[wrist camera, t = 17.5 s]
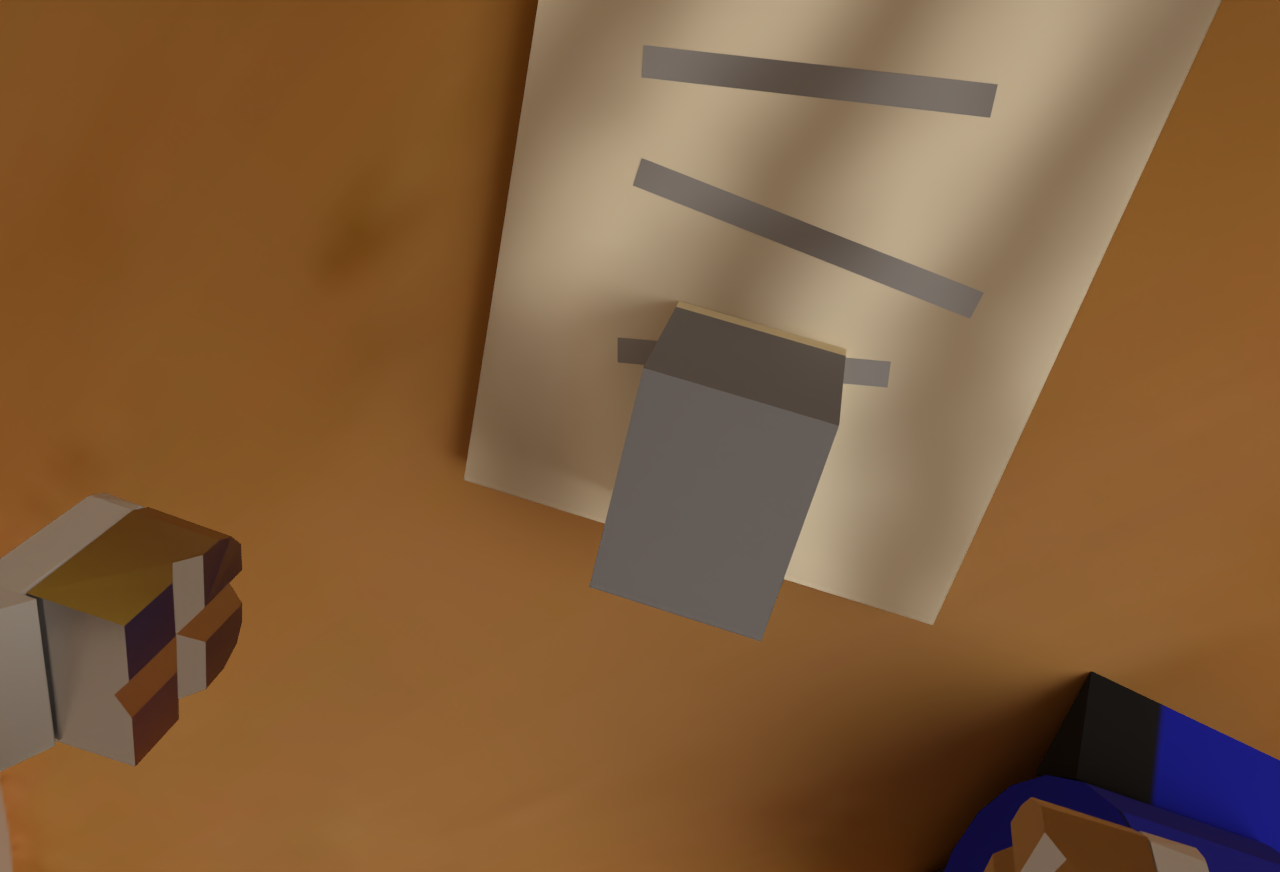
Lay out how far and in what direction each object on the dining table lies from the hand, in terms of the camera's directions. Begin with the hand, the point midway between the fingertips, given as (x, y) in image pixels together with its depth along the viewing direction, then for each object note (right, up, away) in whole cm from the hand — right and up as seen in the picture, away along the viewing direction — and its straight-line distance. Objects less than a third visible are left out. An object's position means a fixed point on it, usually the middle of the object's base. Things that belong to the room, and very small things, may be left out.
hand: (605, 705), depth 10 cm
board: (+5, +9, +19) cm, 21 cm away
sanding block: (+3, +3, +21) cm, 21 cm away
